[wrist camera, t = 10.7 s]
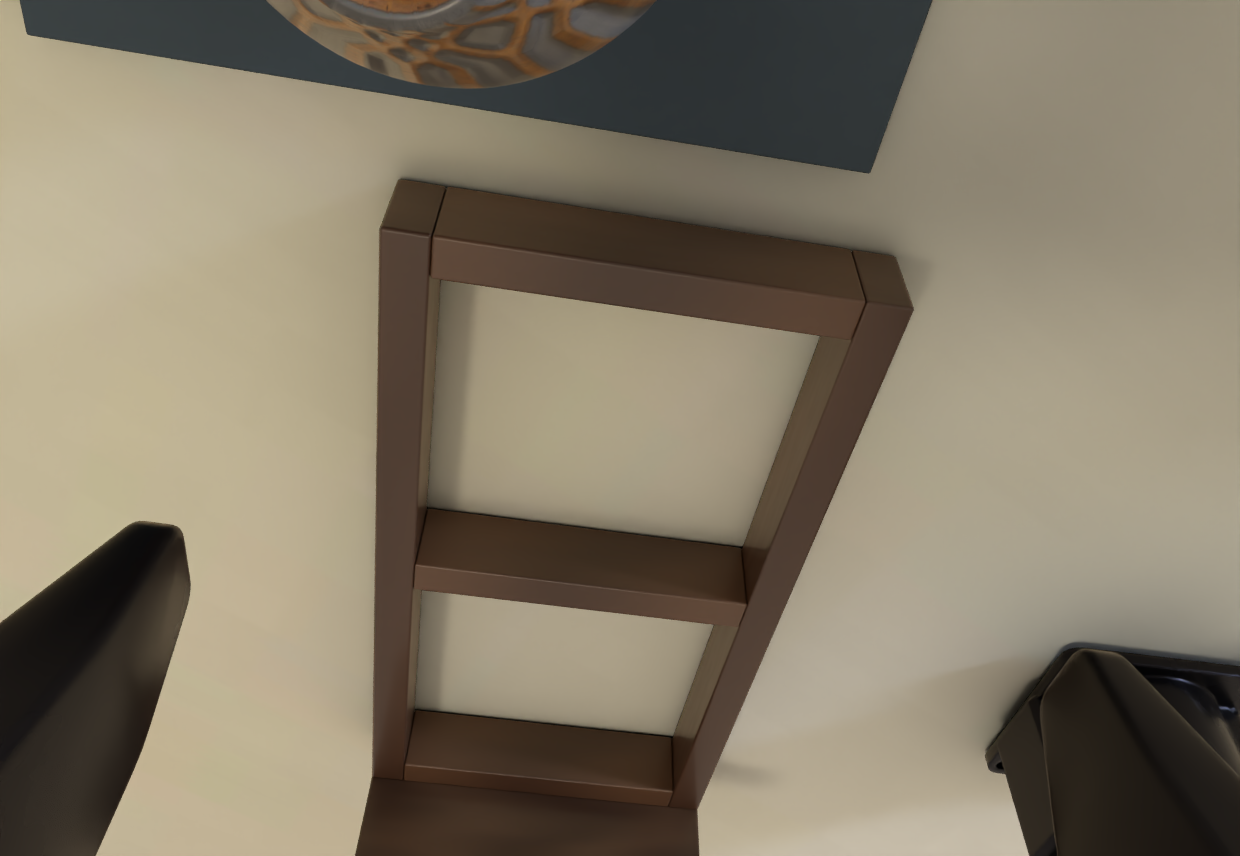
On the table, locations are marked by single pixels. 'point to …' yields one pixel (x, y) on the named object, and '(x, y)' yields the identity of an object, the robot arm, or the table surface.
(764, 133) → the mat
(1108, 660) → the robot arm
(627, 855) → the cup stand
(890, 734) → the table surface
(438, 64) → the vase
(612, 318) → the table surface
